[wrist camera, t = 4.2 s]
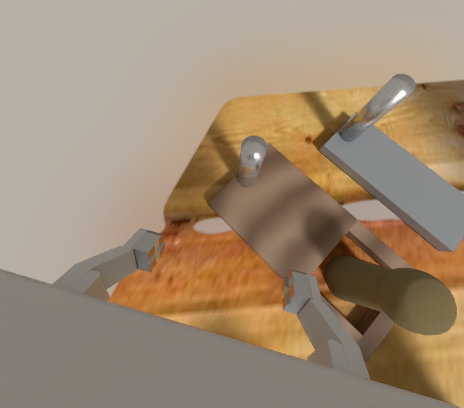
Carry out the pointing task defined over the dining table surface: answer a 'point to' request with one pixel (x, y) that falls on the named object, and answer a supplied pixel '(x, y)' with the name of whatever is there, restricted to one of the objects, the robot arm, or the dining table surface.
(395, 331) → the dining table surface
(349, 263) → the cork
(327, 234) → the brown board with post
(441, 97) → the dining table surface
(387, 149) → the grey base with rod
